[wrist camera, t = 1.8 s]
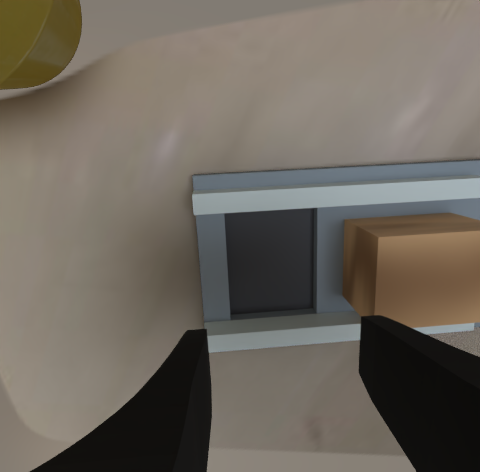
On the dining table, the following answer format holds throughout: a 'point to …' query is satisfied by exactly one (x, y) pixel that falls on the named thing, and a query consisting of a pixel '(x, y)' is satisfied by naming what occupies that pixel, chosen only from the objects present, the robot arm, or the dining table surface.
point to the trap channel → (305, 244)
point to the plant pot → (37, 40)
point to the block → (414, 268)
